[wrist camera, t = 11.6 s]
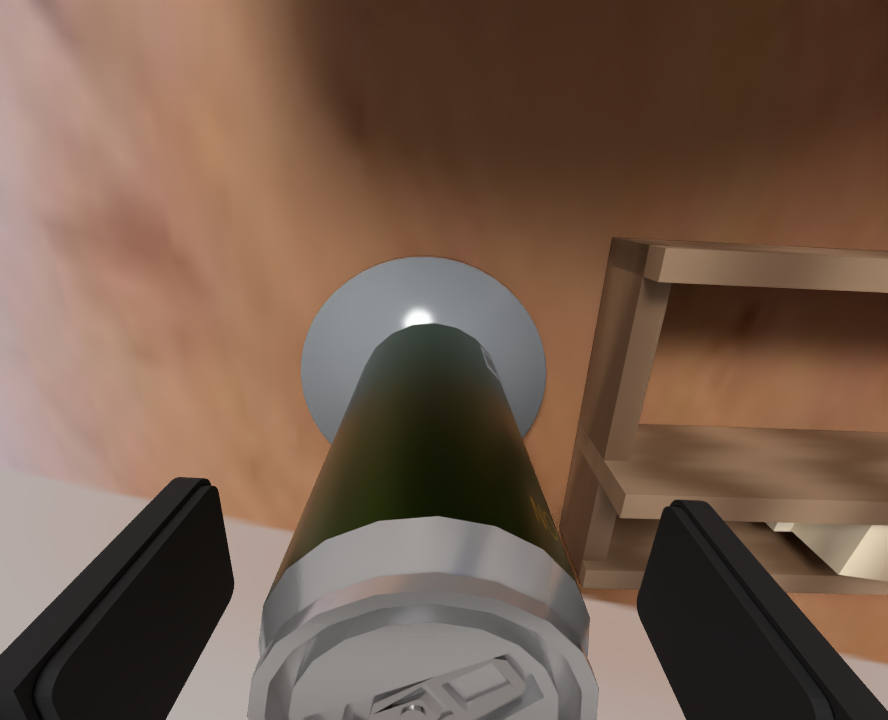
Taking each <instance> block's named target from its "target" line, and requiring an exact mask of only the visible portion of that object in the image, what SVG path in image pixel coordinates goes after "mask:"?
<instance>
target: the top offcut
mask: <svg viewBox="0 0 888 720" xmlns="http://www.w3.org/2000/svg"><path fill="white" fill-rule="evenodd" d="M791 531H792V532H793V533H794V534H795V535H796V536H797V537H798V538H800V539H801V540H802V541H803V542H804V543H805V544H806V545H807V546H808V547H809V548H810V549H811V550H812V551H814V552H815V553H816V554H817V555H818V556H819V557H820V558H821V559H822V560H823V561H824V562H825V563H826V564H828V565H829V566H830V567H831V568H832V569H833V570H834V571H835V572H836V573H837V574H838V575H844V576H851V577H858V578H866V579H873V580H880V581H887V582H888V525H854V524H817V523H794V525H793V527H792V528H791Z"/></svg>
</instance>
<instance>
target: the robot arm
mask: <svg viewBox="0 0 888 720" xmlns="http://www.w3.org/2000/svg"><path fill="white" fill-rule="evenodd" d="M233 589H234V577H233V572H232V566H231V560H230V555H229V549H228V543H227V538H226V532H225V526H224V520H223V515H222V509H221V503H220V498H219V492H218V489H217V488H216V487H215V486H211V483H210V481H209V480H208V479H205V478H185V477H178V478H175V479H173V480H172V481H171V482H170V483H169V484H168V485H167V486H166V487H165V488H164V489H163V490H162V491H161V492H160V493H159V494H158V495H157V496H156V497H155V498H154V499H153V500H152V501H151V502H150V503H149V504H148V505H147V506H146V507H145V508H144V509H143V510H142V511H141V512H140V513H139V514H138V515H137V516H136V517H135V518H134V520H132V522H131V523H129V524H128V526H127V527H126V528H125V529H124V530H123V531H122V532H121V533H120V534H119V535H118V536H117V537H116V538H115V539H114V540H113V541H112V542H111V543H110V544H109V545H108V546H107V547H106V548H105V549H104V550H103V551H102V552H101V553H100V554H99V555H98V556H97V557H96V558H95V559H94V560H93V561H92V562H91V563H90V564H89V565H88V566H87V567H86V568H85V569H84V570H83V571H82V572H81V573H80V574H79V576H77V578H75V579H74V580H73V581H72V583H70V584H69V586H68V587H67V588H66V589H65V590H64V591H63V592H62V593H61V594H60V595H59V596H58V597H57V598H56V599H55V600H54V601H53V602H52V603H51V604H50V605H49V606H48V607H47V608H46V609H45V610H44V611H43V612H42V613H41V614H40V615H39V616H38V617H37V618H36V619H35V620H34V621H33V622H32V623H31V624H30V625H29V626H28V627H27V628H26V629H25V630H24V631H23V632H22V633H21V634H20V636H19V637H17V638H16V639H15V640H14V641H13V642H12V644H11V645H10V646H9V647H8V648H7V649H6V650H5V651H4V652H3V653H2V654H1V655H0V720H166V718H167V716H168V714H169V712H170V710H171V709H172V707H173V705H174V703H175V701H176V699H177V698H178V696H179V694H180V692H181V690H182V688H183V686H184V685H185V683H186V681H187V679H188V677H189V675H190V674H191V672H192V670H193V668H194V666H195V664H196V662H197V661H198V659H199V657H200V655H201V653H202V651H203V650H204V648H205V646H206V644H207V642H208V640H209V639H210V637H211V635H212V633H213V631H214V629H215V627H216V626H217V624H218V622H219V620H220V618H221V616H222V615H223V613H224V611H225V609H226V607H227V605H228V604H229V602H230V599H231V597H232V594H233ZM637 611H638V614H639V617H640V620H641V622H642V624H643V626H644V629H645V631H646V633H647V635H648V637H649V639H650V642H651V644H652V646H653V648H654V650H655V653H656V655H657V657H658V659H659V661H660V663H661V666H662V668H663V670H664V672H665V674H666V677H667V679H668V681H669V683H670V685H671V687H672V690H673V692H674V694H675V696H676V698H677V700H678V703H679V704H680V707H681V709H682V711H683V713H684V716H685V718H686V720H888V711H887V710H886V709H885V708H884V706H883V705H882V704H881V703H880V702H879V701H878V699H877V698H876V697H875V696H874V695H873V694H872V692H871V691H870V690H869V689H868V688H867V687H866V685H865V684H864V683H863V682H862V681H861V680H860V679H859V677H858V676H857V675H856V674H855V673H854V672H853V670H852V669H851V668H850V667H849V666H848V665H847V663H846V662H845V661H844V660H843V659H842V658H841V656H840V655H839V654H838V653H837V652H836V651H835V649H834V648H833V647H832V646H831V645H830V644H829V642H828V641H827V640H826V639H825V638H824V637H823V636H822V634H821V633H820V632H819V631H818V630H817V629H816V627H815V626H814V625H813V624H812V623H811V622H810V620H809V619H808V618H807V617H806V616H805V615H804V613H803V612H802V611H801V610H800V609H799V608H798V606H797V605H796V604H795V603H794V602H793V601H792V600H791V598H790V597H789V596H788V595H787V594H786V593H785V591H784V590H783V589H782V588H781V587H780V586H779V584H778V583H777V582H776V581H775V580H774V579H773V577H772V576H771V575H770V574H769V573H768V572H767V571H766V569H765V568H764V567H763V566H762V565H761V564H760V562H759V561H758V560H757V559H756V558H755V557H754V555H753V554H752V553H751V552H750V551H749V550H748V548H747V547H746V546H745V545H744V544H743V543H742V541H741V540H740V539H739V538H738V537H737V536H736V535H735V533H734V532H733V531H732V530H731V529H730V528H729V526H728V525H727V524H726V523H725V522H724V521H723V519H722V518H721V517H720V516H719V515H718V514H717V512H716V511H715V510H714V509H713V508H712V507H711V506H710V505H709V504H708V503H707V502H705V501H700V500H678V499H677V500H674V501H673V502H672V503H671V504H670V506H667V507H665V508H664V509H663V511H662V514H661V518H660V521H659V525H658V528H657V532H656V535H655V538H654V542H653V545H652V549H651V552H650V556H649V559H648V562H647V566H646V569H645V573H644V576H643V580H642V583H641V587H640V590H639V593H638V597H637Z"/></svg>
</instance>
